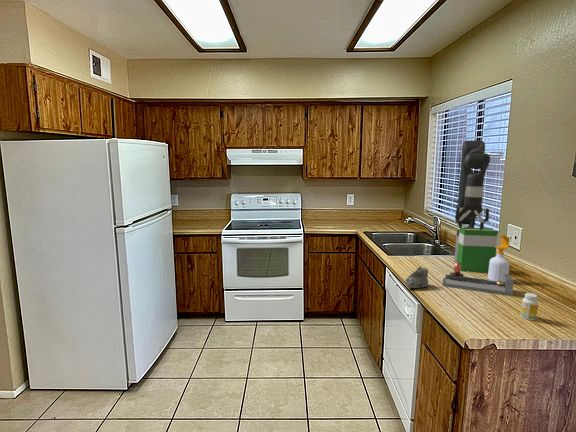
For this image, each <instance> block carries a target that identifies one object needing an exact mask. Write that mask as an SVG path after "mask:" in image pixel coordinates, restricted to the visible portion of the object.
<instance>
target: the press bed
mask: <svg viewBox="0 0 576 432" xmlns="http://www.w3.org/2000/svg"><path fill="white" fill-rule="evenodd" d="M442 286H443V287H448V288H455V289H463V290H469V291H475V292H476V291H477V292H483V293H488V294H489V293H490V294H495V295H502V296H510V297H514V291H513V290H514V278H513V276H512V275H511V274H503V282H502V281H493V280H489V279H485V278H478V277H477V278H476V277H469V276H464V279H463V281H459V280H452V279H450V274H445V277H443V279H442Z"/></svg>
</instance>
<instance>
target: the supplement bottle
mask: <svg viewBox="0 0 576 432" xmlns="http://www.w3.org/2000/svg"><path fill="white" fill-rule="evenodd" d="M537 299H538V295H537V294H535V293H531V292H526V293H524V298H522V300H521V306H520V312H519V315H520V317H521V318H522V319H525V320H529V321H534V320H536V319H537V316H538V309H539V301H538V300H537Z"/></svg>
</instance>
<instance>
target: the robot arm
mask: <svg viewBox="0 0 576 432" xmlns="http://www.w3.org/2000/svg"><path fill="white" fill-rule="evenodd" d="M490 162H491V156H490V155H489V154H488V153H486V144H485V142H484V141H483V140H479V139H477V140H465V141H463V143H462V145H461V164H460V167H461V168H460V176H459V183H458V197H457V204H456V210H455V217H454V218H455V219H454V220H455V223H456V224H458V228H459V229H457V231H456V238H455V251H454V261H453V262H454V264H455V263H456V262H457V254H458V242H459V231H460V229H462V227H463V225H468V226H467V227H466V226H465V227H466V228H475V225H476V219H477V218H478V219H479V220H480V221H479V223H480V224H479V228H480V230H482V229H483V228H485V227H484V224H485V223H486V222H489V220H490V209H489V208H483V206H482V205H483V196H484V181H485V176H486V172H487V170H488V168H489V165H490ZM473 169H479V171H478V172H474V171H473ZM482 212H483V213H484V214H485V218H483V217H482V215H481V214H482Z"/></svg>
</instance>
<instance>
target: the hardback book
mask: <svg viewBox="0 0 576 432" xmlns="http://www.w3.org/2000/svg"><path fill="white" fill-rule="evenodd" d="M459 230H460V231H459V242H458V254H457V263H461V269H460V272H467V271H469V272H470V273H471V272H472V273H473V272H474V273H488V271H489V262H490V259H491V258H493V257H496V256H497V248H495V247H496V246H498V238H499V237H498V236H499V235H497V234H499V230H494V228H492V227H491V228H490V227H484V228H483V229H482V230H480V227H474V228H466V226H465V227H463V226H462V229H460V228H459Z"/></svg>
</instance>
